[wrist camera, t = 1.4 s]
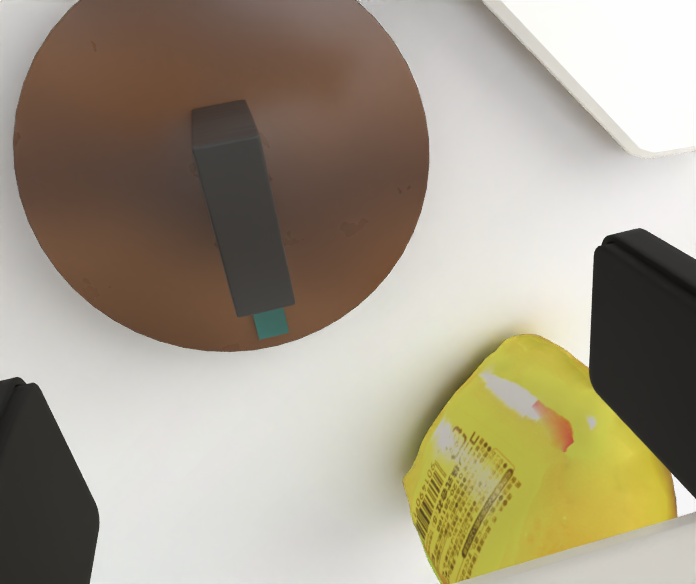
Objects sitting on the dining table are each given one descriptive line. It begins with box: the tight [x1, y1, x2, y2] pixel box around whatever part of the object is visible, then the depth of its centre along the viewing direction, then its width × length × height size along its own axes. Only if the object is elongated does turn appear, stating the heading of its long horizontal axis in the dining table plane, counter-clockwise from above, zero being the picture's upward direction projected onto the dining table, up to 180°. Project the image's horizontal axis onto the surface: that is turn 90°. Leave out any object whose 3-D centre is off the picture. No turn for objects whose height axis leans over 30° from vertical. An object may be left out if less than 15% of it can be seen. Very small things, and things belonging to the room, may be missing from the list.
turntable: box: [13, 0, 429, 352], centre depth 20 cm, size 14×14×6 cm
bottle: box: [403, 334, 677, 584], centre depth 23 cm, size 12×6×20 cm, turn 152°
